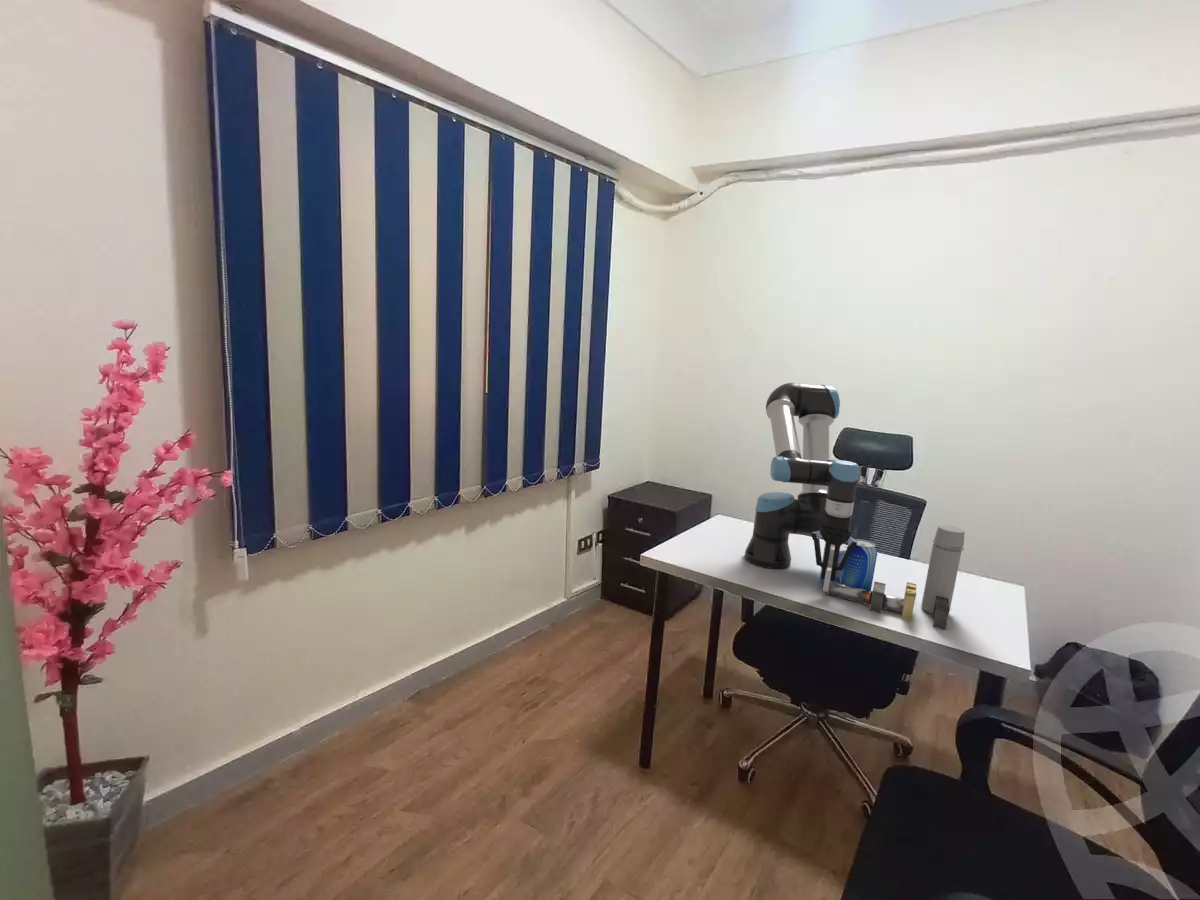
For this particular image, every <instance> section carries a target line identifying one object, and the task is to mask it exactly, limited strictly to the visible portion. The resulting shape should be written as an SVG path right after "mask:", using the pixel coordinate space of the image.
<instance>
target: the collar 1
mask: <svg viewBox="0 0 1200 900" xmlns="http://www.w3.org/2000/svg"><path fill="white" fill-rule="evenodd" d="M873 582H874V583H873V586H872V587H873V588H872V591H873V592H872V597H871V603H870V605H869V611H870V612H873V613H878V614H882V609H883V608H882V604H883V598H884V594H885V590H886V585H887V583H883V582H879V581H873Z"/></svg>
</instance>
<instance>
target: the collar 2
mask: <svg viewBox="0 0 1200 900" xmlns="http://www.w3.org/2000/svg"><path fill="white" fill-rule="evenodd" d="M949 610H950V611H951V607H950V608H949V600H948V598H944V597H940V596H936V599H935V604H934V610H933V614H931V615H932V618H933V622H932V627H933V628H936V629H941V630H945V631H946V628H947V626H948V625H947V623H948V620H949V614H950V612H949Z"/></svg>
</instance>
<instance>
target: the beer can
mask: <svg viewBox="0 0 1200 900" xmlns="http://www.w3.org/2000/svg"><path fill="white" fill-rule="evenodd" d="M853 539H854V538H853ZM854 540H857V542H858V543H857V545H856V546H855V547H854V548H853V549H852V550H851V553H850V555H849V557H848V559H847V561H846V563H845V565H844V569H843V575H842V582H841V584H844V585H849V586H853V587H857V588H861V589H865V590H869V591H872V587H873V582H874V581H873V580H874V576H875V575H874V574H875V569H876V564H877V558H878V551H877V548H876V544H875V543H874V542H871V541H869V540H867V539H860V538H859V539H857V538H855V539H854ZM848 546H849V545H848V544H847V548H848Z"/></svg>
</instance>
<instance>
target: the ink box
mask: <svg viewBox="0 0 1200 900" xmlns="http://www.w3.org/2000/svg"><path fill="white" fill-rule="evenodd" d="M825 546H826V542H824V548H823V555H822V561H823V560H824V553H825ZM847 546H848V544H845V543H843V544H842V545H841V546H840V551H839V557H838V564H837V565H840V563H841V561H842V559H843V557H844V555H845V552H846V550H847ZM834 550H835V545H833V544H831V548H830V555H829V561H828V566H827V567H828V568H832V563H833V556H834ZM843 569H844V568H843ZM821 574H822V567H820V573H819V580H818V581H819V582H821V583H822V584H824V580H825V579H821ZM842 575H843V570H842V571H840V570H838V571H836V575H835V580H834V581H832V582H836V583H840V584H841V582H842Z"/></svg>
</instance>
